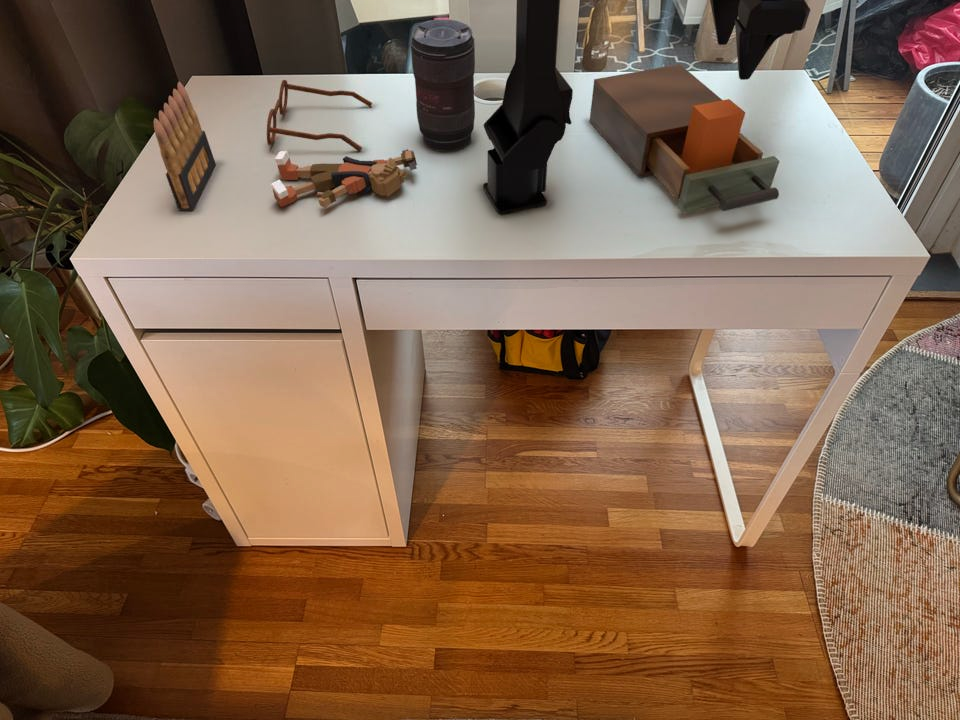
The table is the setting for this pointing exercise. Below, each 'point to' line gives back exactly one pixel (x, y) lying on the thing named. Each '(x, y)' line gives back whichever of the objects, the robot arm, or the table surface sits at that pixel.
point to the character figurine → (341, 177)
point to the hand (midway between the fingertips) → (732, 61)
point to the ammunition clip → (184, 149)
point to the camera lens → (444, 82)
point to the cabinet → (645, 109)
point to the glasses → (299, 134)
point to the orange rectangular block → (712, 135)
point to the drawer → (713, 175)
